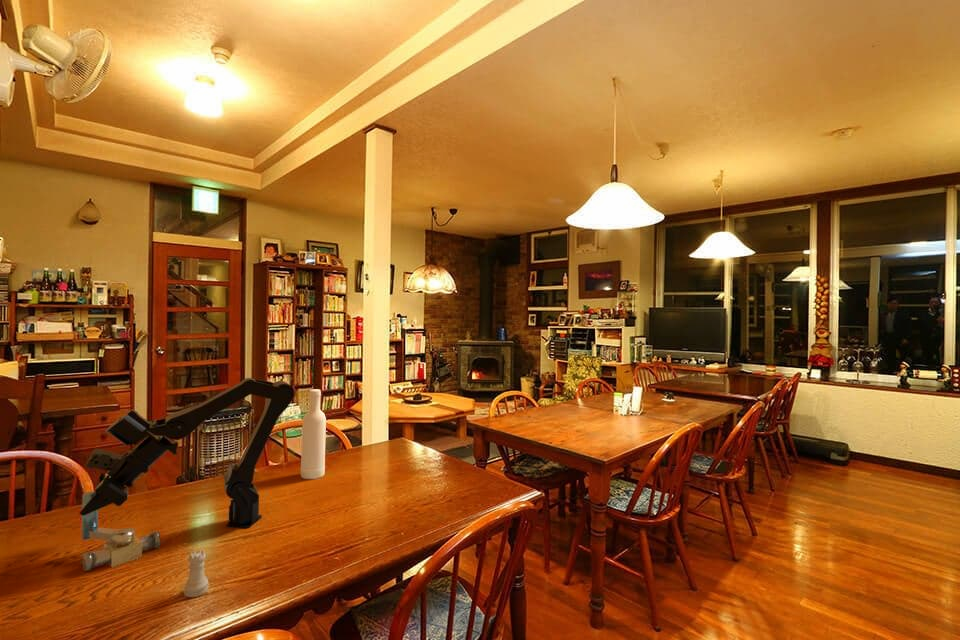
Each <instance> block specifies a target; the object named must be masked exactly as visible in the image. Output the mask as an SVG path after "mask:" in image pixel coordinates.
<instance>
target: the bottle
mask: <svg viewBox="0 0 960 640" xmlns="http://www.w3.org/2000/svg"><path fill="white" fill-rule="evenodd" d="M321 395H322V393H321V389H319V388H318V389H317V388H316V389H314V388H312V389H310V390H309V393H308V396H309V399H308V401H309V403H308V404H309V405H308V410H307V412H305V413H304V414H303V418H302V420H301V421H302V423H301V424H302V426H301V454H300V455H301V457H300V458H301V459H300V477H301V478H302V479H304V480H317V479H321V478H322V477H323V476H325V473H326V472H325V470H326V438H327V437H326V436H327V435H326V434H327V430H326V429H327V416H326V415H325V413H324V411H322V410H321Z"/></svg>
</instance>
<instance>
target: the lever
mask: <svg viewBox="0 0 960 640" xmlns="http://www.w3.org/2000/svg"><path fill="white" fill-rule="evenodd" d="M95 493H96V492H95V490H94V491H87V492H85V493H82V502H81V503H82V505H81V510H82V509H83V508H84V506H85V505H86V504H87V503H88V502H89V500H90V499H91V498H92V497H93V496H94V494H95ZM98 525H99V509H98V510H96V511H93V512H91V513H89V514H87V515H84V516H82V515H81V539H82V540H92V539H94V540H101V541H107V542H110V541H112V544H113V545H123V544H127V543H129V542H131V541H133V540H134V535H135V529H134V528H133V527H126V528H121V529H120V528H119V529H115V528H107V527H106V528H105V527H99V526H98Z"/></svg>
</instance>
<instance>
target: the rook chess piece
mask: <svg viewBox="0 0 960 640" xmlns="http://www.w3.org/2000/svg"><path fill="white" fill-rule="evenodd" d="M206 558H207V554H206V553H205V550H203V549H202V550H201V549H198V550H197V552H196V551H195V550H193V551H192V552H190V554H189V557H188V558H187V562H188V563H189V566H188V569H189V574H188V578H187V580H186V583H185V584H184V586H183V595H184V596H185V597H187V598H189V599H190V598H197V597H198V598H199V597H200V596H203V595H204V594H205V593H206V592H207V591H208V590H209V588H210V585H209V579H208V578H207V576H206V575H205V570H204V569H205V564H206V563H205V559H206Z"/></svg>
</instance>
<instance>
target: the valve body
mask: <svg viewBox="0 0 960 640" xmlns="http://www.w3.org/2000/svg"><path fill="white" fill-rule="evenodd" d="M161 539H162V538H161V534H160V531H158V530H155V531H152V532H151V531H150V534H147V535H144V536H141V537H137V536H136V534H134V540H133V541H131V542H129V543H127V544H123V545H113V544H112V541H107V542H104V543H103V548H102V549H99V550H96V551H93V552H92V551H87V552H84V553H82V556H81V557H82V560H81V561H82V568H83V571H84V572H89V571H91V570H93V569H95V568H97V567H100V566H103V565H106V564H108V566H109V567H110V566H111V567H112V568H114V566H115V567H117V565H118V566H121V565H123V563H124V564H126V562H127V563H130V562H132V560H133V561H135V559H136V560H138V558H139V559H141V558H143V552H145V551H148V550H151V549H153V548H154V549H156V548H159V547H160V546H161V543H162V541H161ZM129 561H130V562H129ZM120 564H121V565H120ZM111 567H110V568H111Z"/></svg>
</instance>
